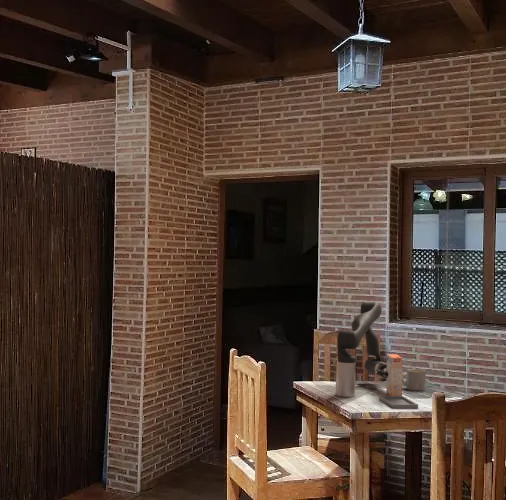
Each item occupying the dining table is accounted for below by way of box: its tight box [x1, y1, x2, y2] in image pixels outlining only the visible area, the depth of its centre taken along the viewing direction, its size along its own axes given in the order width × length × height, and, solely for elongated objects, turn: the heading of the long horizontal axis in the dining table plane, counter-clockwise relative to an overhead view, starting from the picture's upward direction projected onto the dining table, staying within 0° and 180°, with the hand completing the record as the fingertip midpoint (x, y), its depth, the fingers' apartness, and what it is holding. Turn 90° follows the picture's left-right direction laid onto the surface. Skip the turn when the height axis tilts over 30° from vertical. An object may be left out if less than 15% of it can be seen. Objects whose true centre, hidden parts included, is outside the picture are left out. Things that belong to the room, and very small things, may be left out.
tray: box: [379, 395, 419, 409], centre depth 327 cm, size 13×20×2 cm, turn 8°
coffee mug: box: [402, 368, 427, 391], centre depth 370 cm, size 13×10×10 cm
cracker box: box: [386, 353, 403, 396], centre depth 346 cm, size 14×6×21 cm, turn 178°
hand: (394, 375), depth 348 cm, fingers closed on cracker box, 6 cm apart
